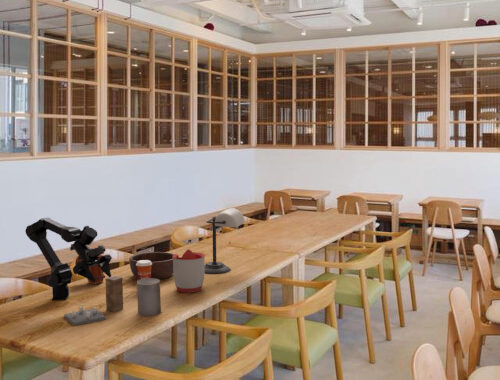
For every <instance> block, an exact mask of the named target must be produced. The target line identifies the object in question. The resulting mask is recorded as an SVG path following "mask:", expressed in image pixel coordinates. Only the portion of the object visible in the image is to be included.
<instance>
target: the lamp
mask: <svg viewBox="0 0 500 380" xmlns="http://www.w3.org/2000/svg"><path fill="white" fill-rule="evenodd" d="M245 222H246V220H245V218H244V215H243V213H242V212H241V211H240V210H238V209H237V208H234V207H230V208H227V209H225V210H223V211H221V212H219V213H218V214H217V215H216V216H213V217H211V218H210V219H208V220H206V223H207V224H212V226H211V227H212V229H211V230H212V261H210V262H206V263H204V265H205V275H220V274H221V275H222V274H226V273H229V272H231V271H232V269H231V268H230V266H228V265H226V264H224V263H223V262H221V261H217V227H223V228H224V227H225V228H229V232H231V228H238V227H240V226H241V225H242V224H244V223H245ZM231 243H232V242H231V241H228V244H229V245H230V244H231Z"/></svg>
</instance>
